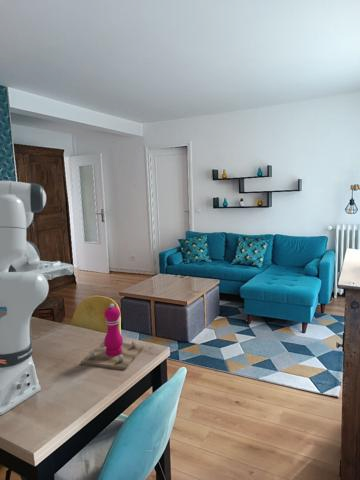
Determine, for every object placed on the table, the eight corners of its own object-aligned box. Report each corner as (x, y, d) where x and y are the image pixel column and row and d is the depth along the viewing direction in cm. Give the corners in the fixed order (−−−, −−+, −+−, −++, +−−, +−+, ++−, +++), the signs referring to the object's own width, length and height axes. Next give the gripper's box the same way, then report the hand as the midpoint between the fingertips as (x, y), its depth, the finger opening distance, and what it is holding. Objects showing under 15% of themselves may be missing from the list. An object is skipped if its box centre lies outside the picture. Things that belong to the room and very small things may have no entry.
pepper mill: (125, 348, 139) (123, 300, 136) (120, 357, 132) (118, 306, 129) (107, 348, 139) (105, 300, 137) (102, 356, 132) (99, 306, 130)
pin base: (125, 369, 124) (124, 360, 124) (81, 364, 129) (80, 354, 129) (143, 348, 142) (143, 339, 141) (104, 343, 146) (103, 335, 146)
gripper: (19, 268, 143) (38, 272, 135) (61, 260, 159) (80, 263, 151) (20, 283, 144) (39, 288, 136) (62, 273, 160) (81, 277, 152)
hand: (61, 275), depth 143 cm, fingers open, 8 cm apart
